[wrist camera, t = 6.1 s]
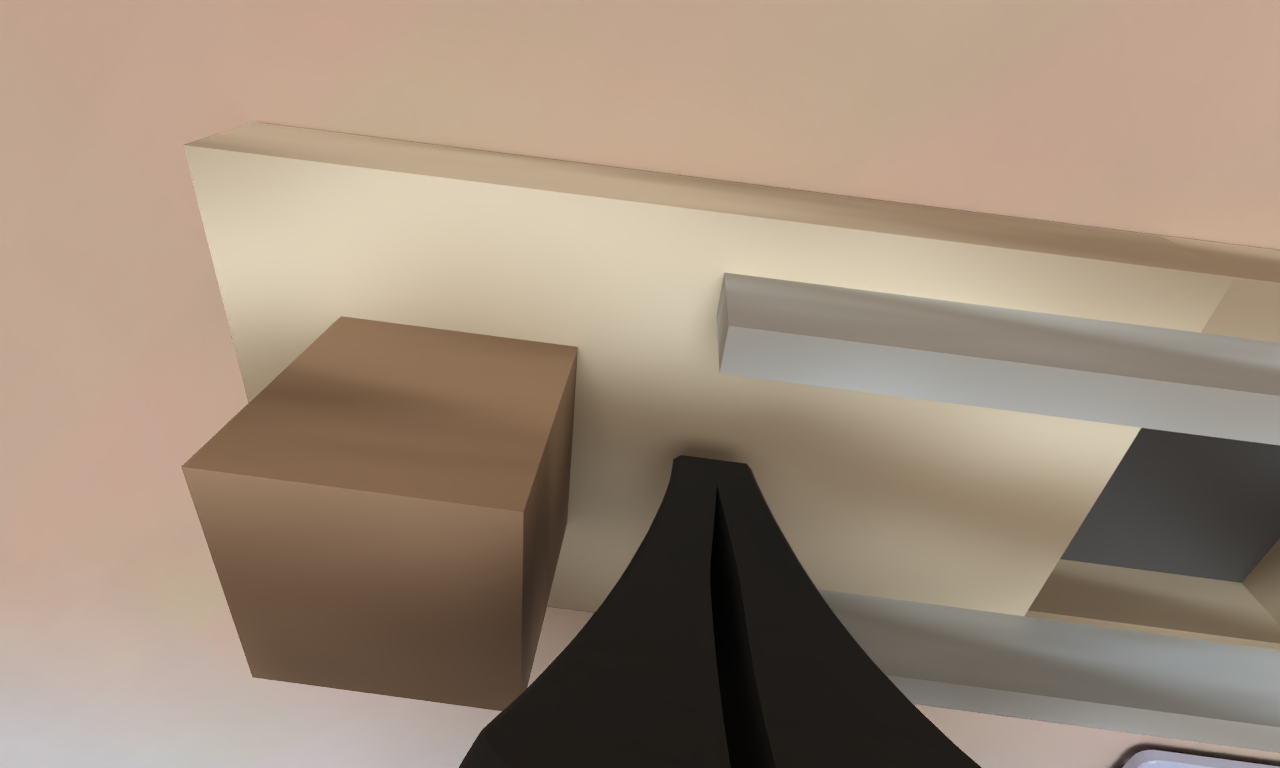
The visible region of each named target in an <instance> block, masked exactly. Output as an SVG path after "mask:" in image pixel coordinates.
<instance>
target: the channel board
mask: <svg viewBox="0 0 1280 768" xmlns="http://www.w3.org/2000/svg"><path fill="white" fill-rule="evenodd" d="M183 147H184V151H185V155H186V159H187V163H188V166H189V170H190V174H191V178H192V182H193V186H194V190H195V194H196V198H197V202H198V206H199V210H200V214H201V218H202V222H203V226H204V229H205V233H206V237H207V241H208V245H209V249H210V253H211V257H212V261H213V265H214V269H215V273H216V277H217V281H218V285H219V288H220V292H221V296H222V300H223V304H224V308H225V312H226V316H227V320H228V324H229V328H230V332H231V336H232V340H233V344H234V347H235V351H236V355H237V359H238V363H239V367H240V371H241V375H242V379H243V383H244V387H245V391H246V395H247V399H248V403H250V402H251V401H252V400H253V399H254V398H255V397H256V396H257V395H258V394H259V393H260V392H261V391H262V390H263V389H264V388H265V387H266V386H268V385H269V384H270V383H271V382H272V381H273V380H274V379H275V378H276V377H277V376H278V375H279V374H280V373H281V372H282V371H283V370H284V369H286V368H287V367H288V366H289V365H290V364H291V363H292V362H293V361H294V360H295V359H296V358H297V357H298V356H299V355H300V354H301V353H302V352H304V351H305V350H306V349H307V348H308V347H309V346H310V345H311V344H312V343H313V342H314V341H315V340H316V339H317V338H318V337H319V336H320V335H322V334H323V333H324V332H325V331H326V330H327V329H328V328H329V327H330V326H331V325H332V324H333V323H334V322H335V321H336V320H337V319H338V318H340V317H341V316H343V317H351V318H359V319H366V320H374V321H382V322H390V323H397V324H405V325H413V326H421V327H428V328H436V329H444V330H451V331H459V332H467V333H475V334H482V335H490V336H498V337H506V338H513V339H521V340H529V341H537V342H544V343H552V344H560V345H568V346H575V347H578V356H577V372H576V388H575V405H574V421H573V437H572V453H571V469H570V486H569V502H568V518H567V526H566V530H565V534H564V538H563V542H562V546H561V550H560V554H559V559H558V563H557V567H556V571H555V575H554V579H553V583H552V587H551V591H550V595H549V600H548V604H547V607H555V608H562V609H570V610H577V611H585V612H592V613H595V612H596V611H597V609H598V608H599V607H600V606H601V604H602V603H603V602H604V600H605V599H606V597H607V596H608V595H609V593H610V592H611V590H612V589H613V588H614V586H615V585H616V583H617V582H618V580H619V579H620V577H621V576H622V574H623V573H624V571H625V570H626V568H627V567H628V565H629V563H630V562H631V560H632V558H633V557H634V555H635V553H636V551H637V550H638V548H639V546H640V544H641V543H642V541H643V539H644V538H645V536H646V534H647V532H648V530H649V528H650V526H651V524H652V522H653V520H654V518H655V516H656V513H657V511H658V509H659V507H660V505H661V503H662V500H663V498H664V495H665V493H666V490H667V487H668V484H669V481H670V477H671V471H672V464H673V459H674V458H676V457H678V456H680V455H685V456H692V457H700V458H708V459H715V460H723V461H731V462H739V463H746V464H747V465H748V466H749V467H750V468H751V470H752V472H753V475H754V477H755V479H756V481H757V484H758V486H759V488H760V490H761V492H762V494H763V496H764V499H765V501H766V503H767V505H768V506H769V508H770V510H771V512H772V514H773V516H774V518H775V520H776V522H777V524H778V526H779V527H780V529H781V531H782V533H783V534H784V536H785V538H786V540H787V541H788V543H789V545H790V547H791V548H792V550H793V552H794V553H795V555H796V557H797V558H798V560H799V562H800V563H801V565H802V566H803V568H804V570H805V571H806V573H807V574H808V576H809V577H810V579H811V580H812V582H813V583H814V585H815V586H816V588H817V589H818V591H819V592H820V594H821V595H822V597H823V598H824V599H825V601H826V602H827V604H828V605H829V607H830V608H831V609H832V611H833V612H834V613H835V615H836V616H837V617H838V619H839V620H840V621H841V623H842V624H843V625H844V626H845V628H846V629H847V630H848V632H849V633H850V634H851V635H852V637H853V638H854V639H855V640H856V642H857V643H858V644H859V645H860V646H861V648H862V649H863V650H864V651H865V652H866V654H867V655H868V656H869V657H870V658H871V660H872V661H873V662H874V663H875V664H876V665H877V666H878V667H879V668H880V669H881V671H882V672H883V673H884V674H885V675H886V676H887V677H888V678H889V679H890V680H891V681H892V682H893V683H894V684H895V686H896V687H897V688H898V689H899V690H900V691H901V692H902V693H903V694H904V695H905V696H906V697H907V698H908V700H909V701H910V702H911V703H912V704H918V705H926V706H933V707H940V708H948V709H955V710H963V711H970V712H978V713H985V714H993V715H1000V716H1008V717H1015V718H1023V719H1030V720H1037V721H1045V722H1052V723H1060V724H1067V725H1075V726H1082V727H1090V728H1097V729H1105V730H1112V731H1120V732H1127V733H1134V734H1142V735H1149V736H1157V737H1164V738H1172V739H1179V740H1187V741H1194V742H1202V743H1209V744H1216V745H1224V746H1231V747H1239V748H1246V749H1254V750H1261V751H1269V752H1276V753H1280V250H1274V249H1266V248H1258V247H1250V246H1242V245H1234V244H1226V243H1218V242H1210V241H1202V240H1194V239H1186V238H1178V237H1170V236H1162V235H1154V234H1146V233H1138V232H1130V231H1122V230H1114V229H1106V228H1098V227H1090V226H1082V225H1074V224H1066V223H1058V222H1050V221H1042V220H1034V219H1026V218H1018V217H1010V216H1002V215H994V214H986V213H978V212H970V211H962V210H954V209H946V208H938V207H930V206H922V205H914V204H906V203H898V202H890V201H882V200H874V199H866V198H858V197H850V196H842V195H834V194H826V193H818V192H810V191H802V190H794V189H786V188H778V187H770V186H762V185H754V184H746V183H738V182H730V181H722V180H714V179H706V178H698V177H690V176H682V175H674V174H666V173H658V172H650V171H642V170H634V169H626V168H618V167H610V166H602V165H594V164H586V163H578V162H570V161H562V160H554V159H546V158H538V157H530V156H522V155H514V154H506V153H498V152H490V151H482V150H474V149H466V148H458V147H450V146H442V145H434V144H426V143H418V142H410V141H402V140H394V139H386V138H378V137H370V136H362V135H354V134H346V133H338V132H330V131H322V130H314V129H306V128H298V127H290V126H282V125H274V124H266V123H258V122H252V123H249V124H246V125H243V126H240V127H237V128H234V129H231V130H228V131H225V132H222V133H218V134H215V135H212V136H209V137H206V138H203V139H200V140H197V141H194V142H191V143H188V144H185V145H183Z"/></svg>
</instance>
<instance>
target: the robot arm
mask: <svg viewBox="0 0 1280 768" xmlns="http://www.w3.org/2000/svg"><path fill="white" fill-rule="evenodd" d="M459 768H981V767H980V766H979V765H978V764H977V763H975V762H974V761H973V760H972V759H971V758H970V757H968V756H967V755H966V754H965V753H964V752H963V751H961V750H960V749H959V748H958V747H957V746H956V745H955V744H954V743H953V742H952V741H951V740H950V739H948V738H947V737H946V736H945V735H944V734H943V733H942V732H941V731H940V730H939V729H938V728H937V727H936V726H935V725H934V724H933V723H932V722H931V721H930V720H929V719H928V718H926V717H925V716H924V715H923V714H922V713H921V712H920V711H919V710H918V709H917V708H916V707H915V706H914V705H913V704H912V703H911V702H910V701H909V700H908V698H907V697H906V696H905V695H904V694H903V693H902V692H901V691H900V690H899V689H898V688H897V687H896V686H895V684H894V683H893V682H892V681H891V680H890V679H889V678H888V677H887V676H886V675H885V674H884V673H883V672H882V671H881V669H880V668H879V667H878V666H877V665H876V664H875V663H874V662H873V661H872V660H871V658H870V657H869V656H868V655H867V654H866V652H865V651H864V650H863V649H862V648H861V646H860V645H859V644H858V643H857V642H856V640H855V639H854V638H853V637H852V635H851V634H850V633H849V632H848V630H847V629H846V628H845V626H844V625H843V624H842V623H841V621H840V620H839V619H838V617H837V616H836V615H835V613H834V612H833V611H832V609H831V608H830V607H829V605H828V604H827V602H826V601H825V599H824V598H823V597H822V595H821V594H820V592H819V591H818V589H817V588H816V586H815V585H814V583H813V582H812V580H811V579H810V577H809V576H808V574H807V573H806V571H805V570H804V568H803V566H802V565H801V563H800V562H799V560H798V558H797V557H796V555H795V553H794V552H793V550H792V548H791V547H790V545H789V543H788V541H787V540H786V538H785V536H784V534H783V533H782V531H781V529H780V527H779V526H778V524H777V522H776V520H775V518H774V516H773V514H772V512H771V510H770V508H769V506H768V505H767V503H766V501H765V499H764V496H763V494H762V492H761V490H760V488H759V486H758V484H757V481H756V479H755V477H754V475H753V472H752V470H751V468H750V467H749V466H748V465H747V464H746V463H739V462H731V461H723V460H715V459H708V458H700V457H692V456H685V455H680V456H678V457H676V458H674V459H673V464H672V471H671V477H670V481H669V484H668V487H667V490H666V493H665V495H664V498H663V500H662V503H661V505H660V507H659V509H658V511H657V513H656V516H655V518H654V520H653V522H652V524H651V526H650V528H649V530H648V532H647V534H646V536H645V538H644V539H643V541H642V543H641V544H640V546H639V548H638V550H637V551H636V553H635V555H634V557H633V558H632V560H631V562H630V563H629V565H628V567H627V568H626V570H625V571H624V573H623V574H622V576H621V577H620V579H619V580H618V582H617V583H616V585H615V586H614V588H613V589H612V590H611V592H610V593H609V595H608V596H607V597H606V599H605V600H604V602H603V603H602V604H601V606H600V607H599V608H598V609H597V611H596V612H595V613H594V615H593V616H592V617H591V618H590V620H589V621H588V622H587V623H586V625H585V626H584V627H583V628H582V630H581V631H580V632H579V633H578V634H577V636H576V637H575V638H574V639H573V640H572V641H571V643H570V644H569V645H568V646H567V647H566V648H565V649H564V650H563V651H562V652H561V654H560V655H559V656H558V657H557V658H556V659H555V660H554V661H553V662H552V663H551V664H550V665H549V666H548V667H547V668H546V670H545V671H544V672H543V673H542V674H541V675H540V676H539V677H538V678H537V679H536V680H535V681H534V682H533V683H532V684H531V685H530V686H529V687H528V688H527V689H526V690H525V691H524V692H523V693H522V694H521V695H520V696H519V697H517V698H516V699H515V700H514V701H513V702H512V703H511V704H510V705H509V706H508V707H507V708H505V709H504V710H503V711H502V712H501V713H500V714H499V715H498V716H497V717H496V718H495V719H493V720H492V721H491V722H490V723H489V724H488V725H487V726H486V727H485V728H484V729H483V730H482V731H481V732H480V734H479V735H478V737H477V739H476V740H475V742H474V743H473V745H472V747H471V748H470V750H469V751H468V753H467V755H466V756H465V758H464V760H463V761H462V763H461V765H460V766H459ZM1122 768H1280V766H1272V765H1265V764H1257V763H1250V762H1243V761H1235V760H1228V759H1220V758H1213V757H1205V756H1198V755H1190V754H1183V753H1176V752H1168V751H1161V750H1144V751H1140V752H1138V753H1136V754H1135V755H1133V756H1132V757H1131V758H1130V759H1129V761H1128V762H1127V763H1126V764H1125V765H1124V766H1123V767H1122Z"/></svg>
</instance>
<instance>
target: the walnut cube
mask: <svg viewBox="0 0 1280 768" xmlns="http://www.w3.org/2000/svg"><path fill="white" fill-rule="evenodd" d="M577 356H578V347H575V346H568V345H560V344H552V343H544V342H537V341H529V340H521V339H513V338H506V337H498V336H490V335H482V334H475V333H467V332H459V331H451V330H444V329H436V328H428V327H421V326H413V325H405V324H397V323H390V322H382V321H374V320H366V319H359V318H351V317H343V316H341V317H340V318H338V319H337V320H336V321H335V322H334V323H333V324H332V325H331V326H330V327H329V328H328V329H327V330H326V331H325V332H324V333H323V334H322V335H320V336H319V337H318V338H317V339H316V340H315V341H314V342H313V343H312V344H311V345H310V346H309V347H308V348H307V349H306V350H305V351H304V352H302V353H301V354H300V355H299V356H298V357H297V358H296V359H295V360H294V361H293V362H292V363H291V364H290V365H289V366H288V367H287V368H286V369H284V370H283V371H282V372H281V373H280V374H279V375H278V376H277V377H276V378H275V379H274V380H273V381H272V382H271V383H270V384H269V385H268V386H266V387H265V388H264V389H263V390H262V391H261V392H260V393H259V394H258V395H257V396H256V397H255V398H254V399H253V400H252V401H251V402H250V403H248V404H247V405H246V406H245V407H244V408H243V409H242V410H241V411H240V412H239V413H238V414H237V415H236V416H235V417H234V418H233V419H232V420H230V421H229V422H228V423H227V424H226V425H225V426H224V427H223V428H222V429H221V430H220V431H219V432H218V433H217V434H216V435H215V436H214V437H212V438H211V439H210V440H209V441H208V442H207V443H206V444H205V445H204V446H203V447H202V448H201V449H200V450H199V451H198V452H197V453H196V454H194V455H193V456H192V457H191V458H190V459H189V460H188V461H187V462H186V463H185V464H184V465H183V466H182V470H183V473H184V476H185V479H186V482H187V485H188V488H189V491H190V494H191V497H192V499H193V502H194V505H195V508H196V511H197V514H198V517H199V520H200V523H201V526H202V529H203V532H204V535H205V538H206V541H207V544H208V547H209V550H210V553H211V556H212V559H213V561H214V564H215V567H216V570H217V573H218V576H219V579H220V582H221V585H222V588H223V591H224V594H225V597H226V600H227V603H228V606H229V609H230V612H231V615H232V618H233V620H234V623H235V626H236V629H237V632H238V635H239V638H240V641H241V644H242V647H243V650H244V653H245V656H246V659H247V662H248V665H249V668H250V671H251V674H252V677H255V678H263V679H270V680H277V681H285V682H292V683H300V684H307V685H314V686H322V687H329V688H336V689H344V690H351V691H359V692H366V693H373V694H381V695H388V696H395V697H403V698H410V699H417V700H425V701H432V702H440V703H447V704H454V705H462V706H469V707H476V708H484V709H491V710H499V711H503V710H504V709H505V708H507V707H508V706H509V705H510V704H511V703H512V702H513V701H514V700H515V699H516V698H517V697H519V696H520V695H521V694H522V693H523V692H524V691H525V690H526V689H527V686H528V681H529V677H530V673H531V669H532V665H533V661H534V657H535V653H536V649H537V645H538V641H539V636H540V632H541V628H542V624H543V620H544V616H545V612H546V608H547V604H548V600H549V595H550V591H551V587H552V583H553V579H554V575H555V571H556V567H557V563H558V559H559V554H560V550H561V546H562V542H563V538H564V534H565V530H566V526H567V518H568V502H569V486H570V469H571V453H572V437H573V421H574V405H575V388H576V372H577Z"/></svg>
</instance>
